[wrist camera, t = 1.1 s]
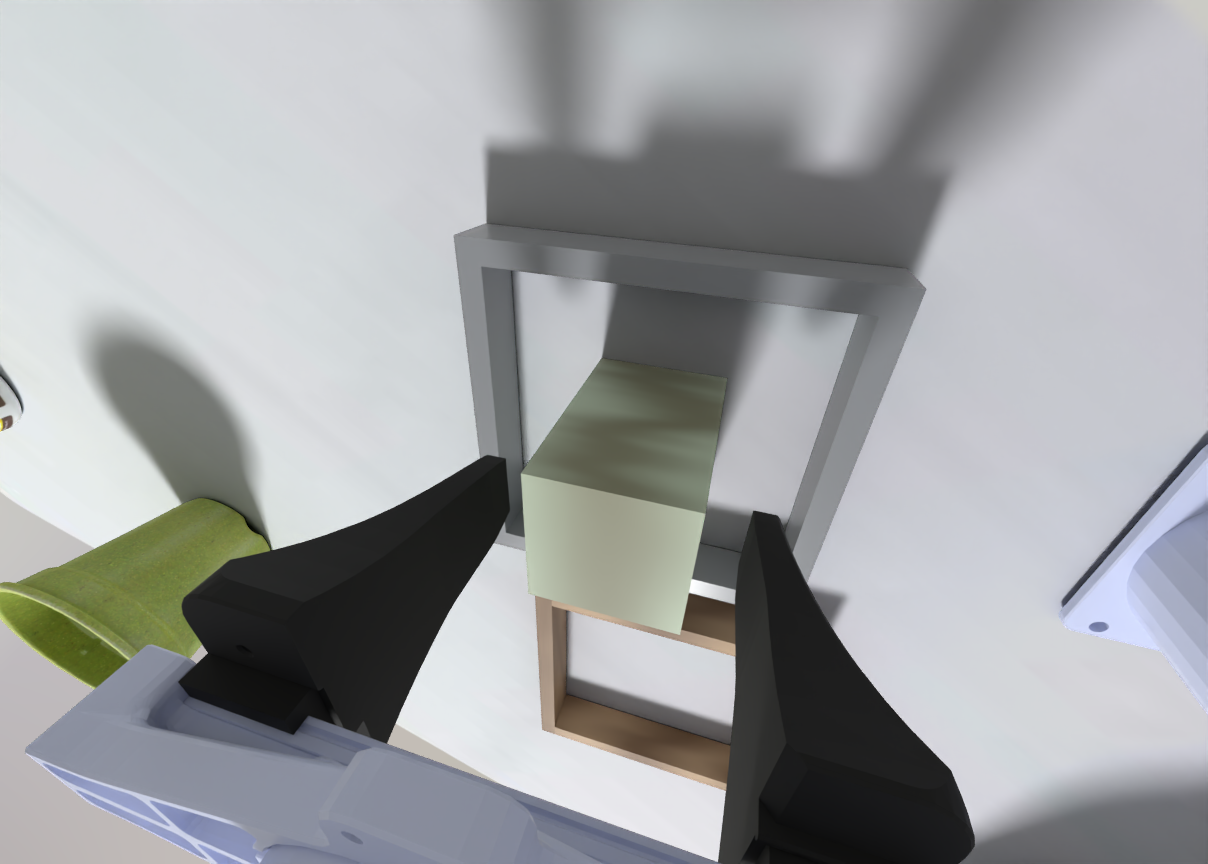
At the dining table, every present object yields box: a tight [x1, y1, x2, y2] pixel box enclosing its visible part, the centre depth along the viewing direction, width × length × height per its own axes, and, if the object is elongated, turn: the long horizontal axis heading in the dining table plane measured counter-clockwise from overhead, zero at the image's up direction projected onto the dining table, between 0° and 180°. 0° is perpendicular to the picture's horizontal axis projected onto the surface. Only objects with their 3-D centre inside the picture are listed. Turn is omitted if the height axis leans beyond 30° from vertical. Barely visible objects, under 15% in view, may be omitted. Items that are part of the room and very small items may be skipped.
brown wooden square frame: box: [535, 593, 736, 791], centre depth 25 cm, size 13×13×2 cm
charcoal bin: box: [454, 224, 926, 604], centre depth 17 cm, size 13×13×2 cm
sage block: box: [521, 358, 727, 635], centre depth 15 cm, size 4×4×7 cm
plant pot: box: [0, 498, 270, 689], centre depth 28 cm, size 9×9×9 cm
